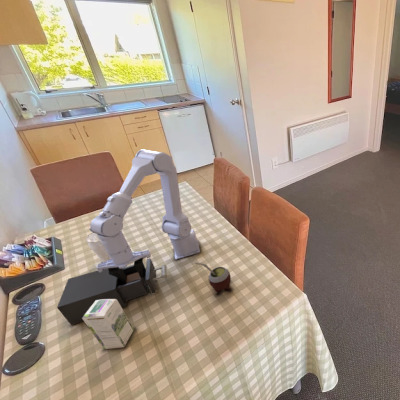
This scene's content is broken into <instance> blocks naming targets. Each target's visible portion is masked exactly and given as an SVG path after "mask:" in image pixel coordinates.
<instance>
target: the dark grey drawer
mask: <svg viewBox="0 0 400 400" xmlns="http://www.w3.org/2000/svg"><path fill="white" fill-rule="evenodd" d="M145 262H146V263H143V264H142V269H143V273H144V275H143V278H144V284H143V282H142V280H141V279H140V280H137V281H134V282H131V283H128V284H126V283H124V282H123V281H121V280H120V279H119V278H118V283H117V291H118V292H119V294H120V296H121V297H122V299H123V301H126V302H127V301H129V300H133V299H135V298H138V297H141V296H144V295H147V294H148V293H149V291H150V293H151V295H153V294H156V293H157V280H160V279H163V280H164V279H167V277H168V274H167V273H168V272H167V270H168V269H167V264H162V265H161V266H160V267H157V268H156V267H155V265H154V263H153V261H152V259H151V257H150V258H146V261H145ZM145 264H146V265H145ZM122 270H123V272H124V273H125V275H126V277H127V275H130V274H134V273H137V272H138V271H137V270H136V269H135V268H134V264H131V265H127V266H126V267H124V268H122ZM160 270H161V275H159V276H157V271H160Z"/></svg>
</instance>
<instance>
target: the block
mask: <svg viewBox="0 0 400 400" xmlns="http://www.w3.org/2000/svg"><path fill="white" fill-rule="evenodd" d="M140 279H141V280H142V282H143V284H144V278H141V277H140V275H139V273H138V272H137V273H134V274H130V275H127V281H126V284H128V283H131V282H134V281H137V280H140Z"/></svg>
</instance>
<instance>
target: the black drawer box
mask: <svg viewBox="0 0 400 400" xmlns="http://www.w3.org/2000/svg"><path fill="white" fill-rule="evenodd" d="M117 283H118V278H117V277H115V276H112V275H110V274H109V270H108V269H105V270H103V271H102V272H99V271H98V270H97V269H96V270H94V271H90V272H87V273H83V274H80V275H76V276H74V277H71V278H68V279H67V281H66V284H65V287H64V288H63V290H62V294H61V296H60V298H59V301H58V304H57V306H56V308H57V309H58V311H59V312H60V314H61V315H62V316H63V317H64V318H65V320H66V321H67V322H68V323H69V324H70V326H74V325H77V324H79V323H82V322H84V320H83V319H82V317H83V316H84V315H85V314H86V312H87V311H88V310H89V308H90V307H91V306H92V305H93V303H94V302H95V301H96V300H102V299H117V301H118V302H119V304H120V306H121V308H122V309H123V308H126V306H127V301H123V299H122V297H121V296H120V294H119V292H118V291H117Z"/></svg>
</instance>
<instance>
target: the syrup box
mask: <svg viewBox="0 0 400 400" xmlns="http://www.w3.org/2000/svg"><path fill="white" fill-rule="evenodd" d="M82 319H83V320H84V321H83V322H84V323H85V324H86V326H87V328H88V329H89V330H90V331H91V333H92V334H93V336H94V337H95V338H96V340H97V342H99V344H100V346H101V347H102V348H103V349H104V350H109V349H119V348H120V349H121V348H125V347H126V345H127V343H128V342H129V340H130V338H131V337H132V334H133V333H134V331H135V328H134V327H133V325H132V323H131V321H130V320H129V318H128V316H127V315H126V312H125V311H124V309H123V308H121V306H120V304H119V302H118V301H117V299H102V300H96V301H95V302H94V303H93V305H92V306H91V307H90V308H89V310H88V311H87V312H86V314H85V315H84V316H83V317H82Z"/></svg>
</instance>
